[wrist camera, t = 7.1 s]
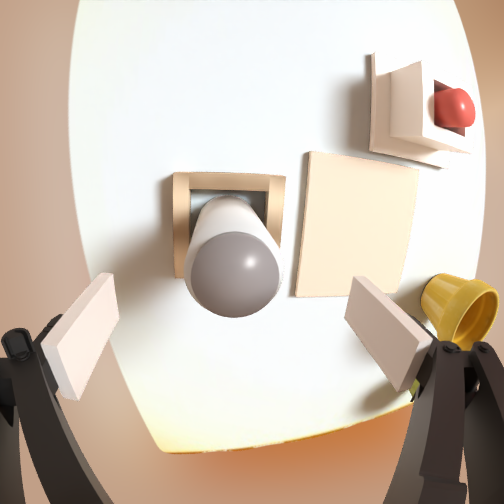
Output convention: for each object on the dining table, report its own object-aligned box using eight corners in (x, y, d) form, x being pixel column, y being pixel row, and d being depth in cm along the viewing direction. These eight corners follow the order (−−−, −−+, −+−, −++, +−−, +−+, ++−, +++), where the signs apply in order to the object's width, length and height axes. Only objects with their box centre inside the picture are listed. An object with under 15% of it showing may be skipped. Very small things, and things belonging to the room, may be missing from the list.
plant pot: (464, 291, 37) (502, 318, 28) (422, 333, 38) (456, 369, 29) (449, 246, 34) (496, 272, 24) (401, 295, 35) (443, 332, 26)
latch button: (419, 88, 22) (449, 82, 18) (444, 98, 23) (474, 95, 18) (419, 122, 24) (450, 120, 19) (444, 131, 24) (475, 132, 19)
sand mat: (309, 151, 28) (311, 151, 27) (415, 168, 29) (419, 169, 29) (294, 293, 33) (296, 297, 32) (393, 290, 34) (396, 292, 34)
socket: (176, 171, 27) (173, 173, 25) (281, 175, 28) (285, 176, 26) (177, 270, 30) (174, 278, 28) (273, 271, 32) (277, 279, 30)
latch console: (371, 54, 24) (404, 37, 18) (444, 83, 26) (480, 77, 19) (368, 150, 28) (405, 152, 22) (442, 168, 30) (480, 174, 23)
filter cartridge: (197, 194, 28) (179, 226, 15) (257, 195, 29) (291, 227, 15) (198, 252, 30) (185, 324, 17) (255, 251, 30) (283, 322, 17)
